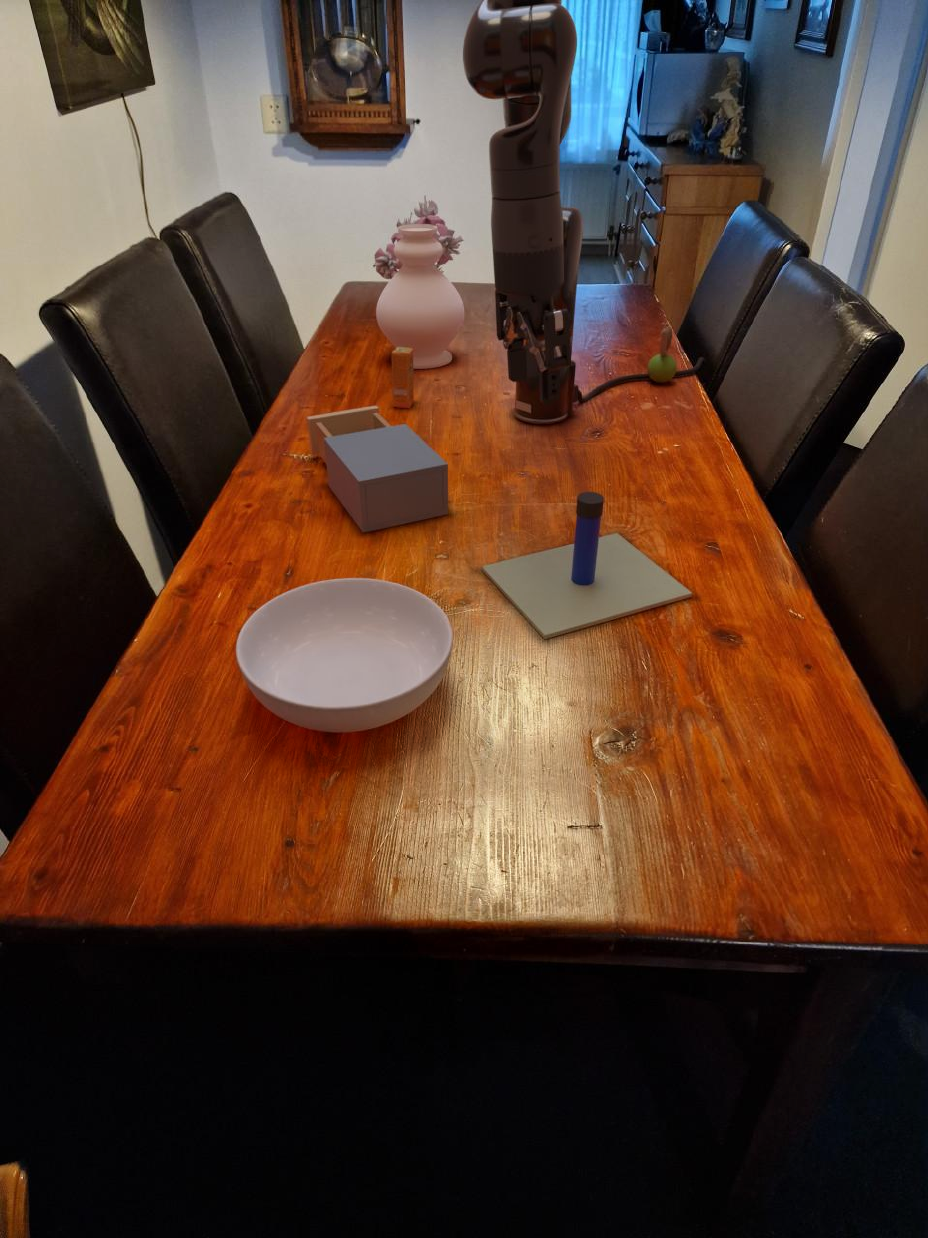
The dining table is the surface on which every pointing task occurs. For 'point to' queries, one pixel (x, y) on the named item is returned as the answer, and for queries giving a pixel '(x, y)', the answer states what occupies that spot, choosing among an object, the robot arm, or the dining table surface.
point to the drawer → (341, 425)
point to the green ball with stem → (663, 359)
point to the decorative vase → (420, 300)
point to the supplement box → (402, 377)
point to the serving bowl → (345, 653)
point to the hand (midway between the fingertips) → (533, 390)
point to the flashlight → (586, 537)
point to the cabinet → (386, 477)
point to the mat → (583, 586)
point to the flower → (389, 262)
